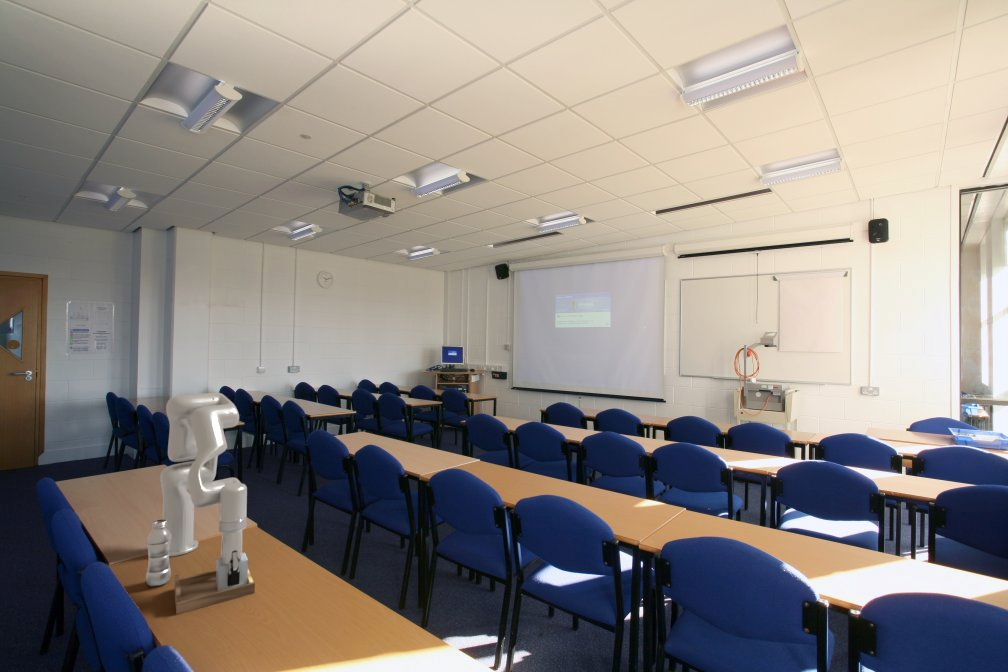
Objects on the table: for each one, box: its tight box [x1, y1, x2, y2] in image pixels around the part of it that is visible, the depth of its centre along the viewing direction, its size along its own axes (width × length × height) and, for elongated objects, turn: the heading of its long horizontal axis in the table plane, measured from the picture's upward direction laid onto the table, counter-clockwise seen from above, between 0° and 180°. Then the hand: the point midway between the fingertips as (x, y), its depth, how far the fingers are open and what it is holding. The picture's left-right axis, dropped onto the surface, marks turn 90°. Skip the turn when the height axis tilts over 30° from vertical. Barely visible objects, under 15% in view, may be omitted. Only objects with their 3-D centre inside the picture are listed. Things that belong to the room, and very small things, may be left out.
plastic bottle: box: [145, 518, 172, 587], centre depth 151 cm, size 6×7×20 cm
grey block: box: [215, 552, 249, 591], centre depth 150 cm, size 6×8×8 cm
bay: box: [173, 568, 256, 616], centre depth 147 cm, size 16×20×5 cm
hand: (231, 579), depth 150 cm, fingers open, 7 cm apart
